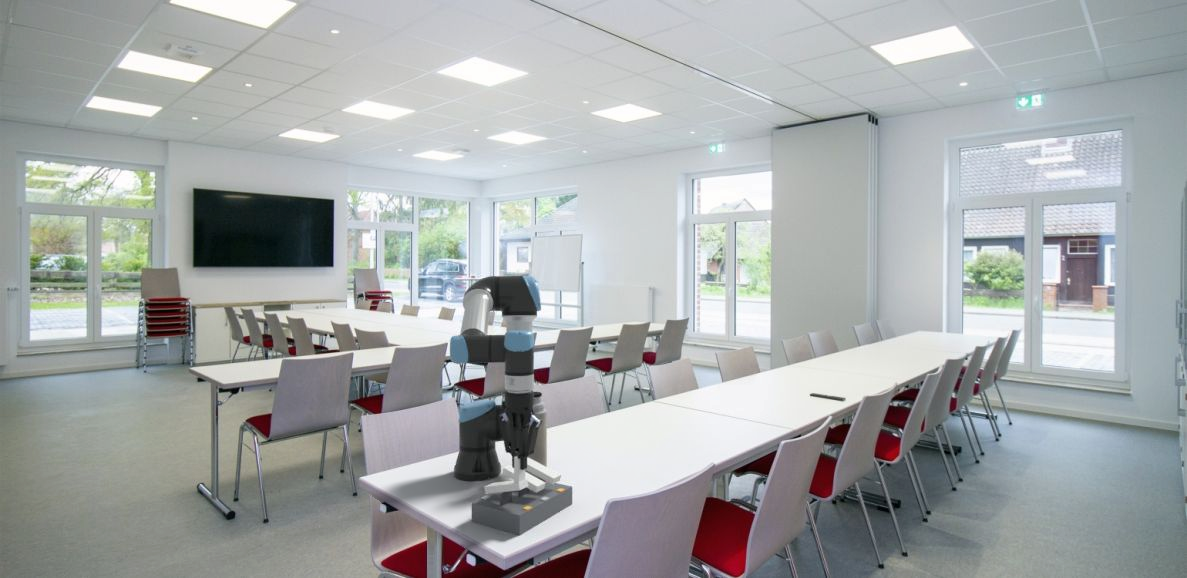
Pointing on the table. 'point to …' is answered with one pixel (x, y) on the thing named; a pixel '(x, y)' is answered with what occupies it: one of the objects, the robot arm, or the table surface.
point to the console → (521, 507)
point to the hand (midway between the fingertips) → (519, 481)
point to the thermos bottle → (540, 432)
